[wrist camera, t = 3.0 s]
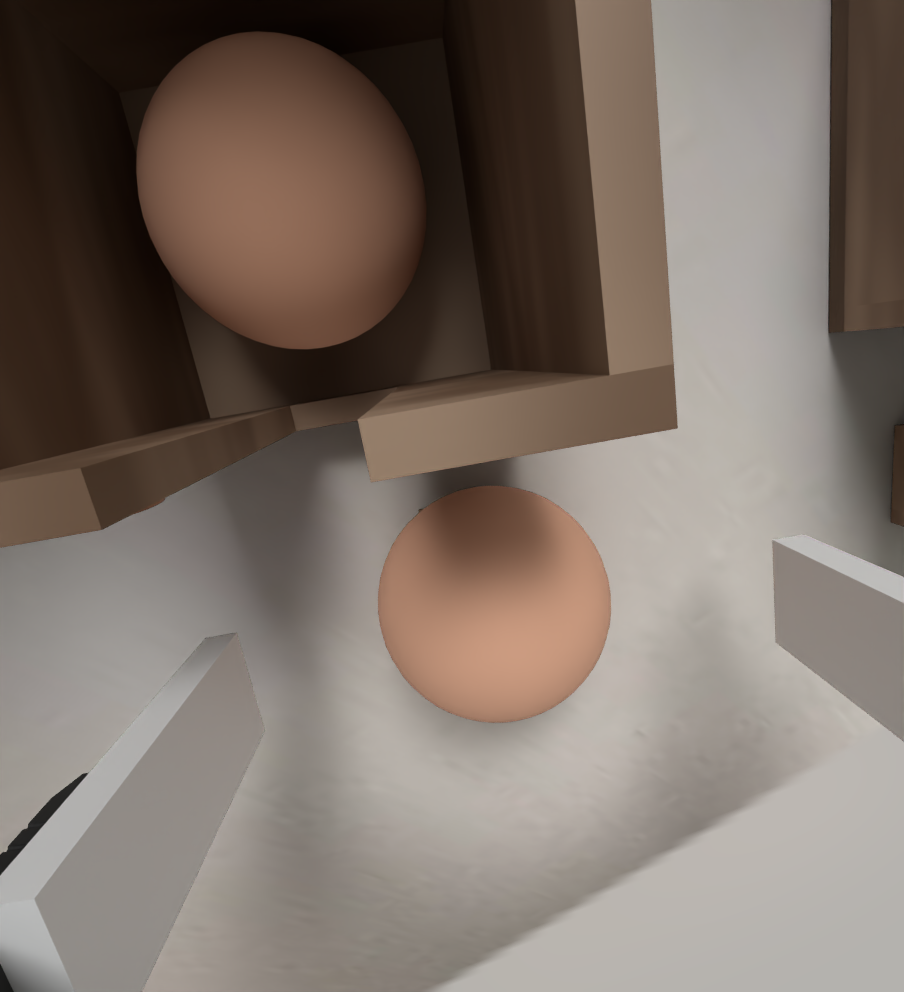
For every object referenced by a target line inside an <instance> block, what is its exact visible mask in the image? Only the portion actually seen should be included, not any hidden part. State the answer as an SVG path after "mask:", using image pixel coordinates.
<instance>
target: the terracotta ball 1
mask: <svg viewBox="0 0 904 992" xmlns="http://www.w3.org/2000/svg"><path fill="white" fill-rule="evenodd" d="M136 176H137V186H138V196H139V201H140V205H141V210H142V214H143V218H144V221H145V224H146V227H147V230H148V233H149V235H150V238H151V240H152V242H153V244H154V246H155V248H156V250H157V252H158V254H159V256H160V258H161V260H162V261H163V263H164V265H165V266H166V268H167V269H168V271H169V272H170V274H171V276H172V277H173V278H174V280H175V281H176V282H177V283H178V285H179V286H180V287H181V288H182V290H183V291H184V292H185V293H186V294H187V295H188V296H189V297H190V298H191V299H192V300H193V301H194V302H195V303H196V304H197V305H198V306H199V307H200V308H201V309H202V310H203V311H205V312H206V313H207V314H209V315H210V316H211V317H212V318H214V319H215V320H216V321H218V322H219V323H221V324H222V325H224V326H226V327H227V328H229V329H231V330H232V331H234V332H236V333H238V334H241V335H243V336H245V337H247V338H250V339H252V340H255V341H258V342H261V343H264V344H268V345H271V346H275V347H281V348H288V349H314V348H323V347H328V346H332V345H336V344H340V343H343V342H346V341H348V340H351V339H353V338H356V337H357V336H359V335H361V334H363V333H364V332H366V331H368V330H370V329H371V328H372V327H374V326H375V325H376V324H377V323H379V322H380V321H381V320H383V319H384V318H385V317H386V316H387V314H388V313H389V312H390V311H391V310H392V309H393V308H394V307H395V306H396V304H397V303H398V302H399V300H400V299H401V298H402V296H403V295H404V293H405V292H406V290H407V288H408V286H409V285H410V283H411V281H412V279H413V276H414V274H415V271H416V269H417V266H418V264H419V260H420V256H421V253H422V249H423V245H424V239H425V231H426V210H427V206H426V197H425V187H424V182H423V178H422V173H421V169H420V164H419V161H418V158H417V155H416V152H415V149H414V147H413V144H412V141H411V139H410V137H409V135H408V133H407V131H406V129H405V127H404V125H403V123H402V122H401V120H400V118H399V117H398V115H397V114H396V112H395V111H394V109H393V108H392V106H391V105H390V103H389V101H388V100H387V99H386V98H385V96H384V95H383V94H382V93H381V92H380V90H379V89H378V88H377V87H376V86H375V84H373V83H372V82H371V81H370V80H369V79H368V78H367V77H366V76H365V75H364V74H363V73H362V72H361V71H360V70H358V69H357V68H356V67H354V66H353V65H352V64H350V63H349V62H347V61H346V60H345V59H343V58H342V57H340V56H339V55H338V54H336V53H334V52H332V51H331V50H329V49H327V48H325V47H323V46H321V45H319V44H317V43H314V42H311V41H309V40H306V39H303V38H301V37H296V36H292V35H287V34H282V33H275V32H259V31H255V32H244V33H236V34H232V35H228V36H224V37H221V38H218V39H216V40H214V41H211V42H209V43H206V44H204V45H202V46H201V47H199V48H198V49H196V50H194V51H193V52H191V53H190V54H188V55H187V56H186V57H185V58H184V59H182V60H181V61H180V62H179V63H178V64H177V65H176V66H174V67H173V69H172V70H171V71H170V72H169V73H168V75H167V76H166V77H165V78H164V79H163V81H162V82H161V84H160V85H159V87H158V89H157V90H156V92H155V93H154V95H153V97H152V99H151V101H150V103H149V106H148V108H147V110H146V113H145V115H144V119H143V122H142V126H141V129H140V133H139V139H138V146H137V158H136Z"/></svg>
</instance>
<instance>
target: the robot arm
mask: <svg viewBox="0 0 904 992" xmlns="http://www.w3.org/2000/svg"><path fill="white" fill-rule="evenodd" d="M772 544H773V575H774V607H775V638H776V643H777V644H779V645H780V646H781V647H782V648H784V649H785V650H786V651H788V652H789V653H790V654H791V655H793V656H794V657H795V658H797V659H798V660H799V661H800V662H802V663H803V664H804V665H806V666H807V667H808V668H809V669H811V670H812V671H813V672H815V673H816V674H817V675H819V676H820V677H821V678H822V679H824V680H825V681H826V682H828V683H829V684H830V685H831V686H833V687H834V688H835V689H837V690H838V691H839V692H840V693H842V694H843V695H844V696H846V697H847V698H848V699H849V700H851V701H852V702H853V703H855V704H856V705H857V706H858V707H860V708H861V709H862V710H864V711H865V712H866V713H867V714H869V715H870V716H871V717H873V718H874V719H875V720H877V721H878V722H879V723H880V724H882V725H883V726H884V727H886V728H887V729H888V730H889V731H891V732H892V733H893V734H895V735H896V736H897V737H898V738H900V739H901V740H902V741H904V577H903V576H900V575H898V574H896V573H893V572H891V571H889V570H886V569H884V568H882V567H879V566H877V565H875V564H872V563H870V562H868V561H865V560H863V559H861V558H858V557H856V556H853V555H851V554H849V553H846V552H844V551H842V550H839V549H837V548H835V547H832V546H830V545H828V544H825V543H823V542H821V541H818V540H816V539H814V538H811V537H809V536H807V535H804V534H802V535H797V536H791V537H785V538H779V539H773V540H772ZM264 732H265V729H264V725H263V722H262V718H261V715H260V711H259V708H258V704H257V701H256V698H255V694H254V691H253V687H252V684H251V680H250V677H249V673H248V670H247V666H246V663H245V659H244V656H243V653H242V649H241V646H240V642H239V639H238V635H237V633H232V634H226V635H221V636H215V637H209V638H205V639H204V641H203V642H202V643H201V644H200V645H199V646H198V647H197V649H196V650H195V651H194V652H193V653H192V654H191V656H190V657H189V658H188V659H187V660H186V661H185V663H184V664H183V665H182V666H181V667H180V668H179V669H178V671H177V672H176V673H175V674H174V675H173V676H172V678H171V679H170V680H169V681H168V682H167V683H166V684H165V686H164V687H163V688H162V689H161V690H160V691H159V693H158V694H157V695H156V696H155V697H154V698H153V700H152V701H151V702H150V703H149V704H148V705H147V706H146V708H145V709H144V710H143V711H142V712H141V713H140V715H139V716H138V717H137V718H136V719H135V720H134V721H133V723H132V724H131V725H130V726H129V727H128V728H127V730H126V731H125V732H124V733H123V734H122V735H121V737H120V738H119V739H118V740H117V741H116V742H115V743H114V745H113V746H112V747H111V748H110V749H109V750H108V752H107V753H106V754H105V755H104V756H103V757H102V759H101V760H100V761H99V762H98V763H97V764H96V765H95V767H94V768H93V769H92V770H91V771H90V772H89V773H85V774H82V775H81V776H79V777H78V778H77V779H76V780H74V781H73V782H72V783H70V784H69V785H68V786H66V787H65V788H64V789H63V790H61V791H60V792H59V793H57V794H56V795H55V796H54V797H52V798H51V799H50V800H49V801H48V803H47V804H46V805H45V806H44V807H43V808H42V809H41V810H40V811H39V813H38V814H37V815H36V816H35V817H34V818H33V819H32V820H31V821H30V823H29V824H28V828H27V829H23V830H22V831H21V833H20V834H19V835H18V836H17V837H16V838H15V839H14V840H13V841H12V843H11V844H10V845H9V846H8V850H7V852H3V853H2V854H1V855H0V992H142V990H143V988H144V986H145V984H146V982H147V980H148V978H149V976H150V973H151V971H152V969H153V967H154V965H155V963H156V961H157V959H158V957H159V954H160V952H161V950H162V948H163V946H164V944H165V942H166V940H167V937H168V935H169V933H170V931H171V929H172V927H173V925H174V923H175V920H176V918H177V916H178V914H179V912H180V910H181V908H182V906H183V904H184V901H185V899H186V897H187V895H188V893H189V891H190V889H191V887H192V884H193V882H194V880H195V878H196V876H197V874H198V872H199V870H200V867H201V865H202V863H203V861H204V859H205V857H206V855H207V853H208V851H209V848H210V846H211V844H212V842H213V840H214V838H215V836H216V834H217V831H218V829H219V827H220V825H221V823H222V821H223V819H224V817H225V814H226V812H227V810H228V808H229V806H230V804H231V802H232V800H233V798H234V795H235V793H236V791H237V789H238V787H239V785H240V783H241V781H242V778H243V776H244V774H245V772H246V770H247V768H248V766H249V764H250V761H251V759H252V757H253V755H254V753H255V751H256V749H257V747H258V745H259V742H260V740H261V738H262V736H263V734H264Z"/></svg>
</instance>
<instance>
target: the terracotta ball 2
mask: <svg viewBox="0 0 904 992" xmlns="http://www.w3.org/2000/svg"><path fill="white" fill-rule="evenodd" d="M378 614H379V620H380V627H381V631H382V634H383V638H384V641H385V644H386V647H387V649H388V651H389V653H390V656H391V658H392V660H393V661H394V663H395V665H396V666H397V668H398V669H399V671H400V672H401V674H402V675H403V677H404V678H405V679H406V680H407V681H408V683H409V684H410V685H411V686H412V687H413V688H414V689H415V690H417V691H418V692H419V693H420V694H421V695H422V696H423V697H425V698H426V699H427V700H428V701H430V702H431V703H433V704H434V705H436V706H437V707H439V708H441V709H443V710H445V711H447V712H449V713H452V714H455V715H457V716H460V717H463V718H467V719H471V720H475V721H481V722H491V723H495V722H511V721H518V720H522V719H526V718H530V717H533V716H536V715H538V714H541V713H543V712H545V711H547V710H549V709H551V708H553V707H555V706H556V705H558V704H559V703H561V702H562V701H564V700H565V699H566V698H567V697H569V696H570V695H571V694H572V693H573V692H574V691H575V690H576V689H577V688H578V687H579V686H580V685H581V684H582V683H583V682H584V681H585V679H586V678H587V677H588V675H589V674H590V672H591V671H592V670H593V668H594V666H595V665H596V663H597V661H598V659H599V657H600V655H601V652H602V650H603V647H604V644H605V641H606V638H607V634H608V630H609V625H610V616H611V598H610V587H609V582H608V577H607V574H606V571H605V568H604V565H603V562H602V559H601V557H600V555H599V553H598V551H597V549H596V547H595V545H594V543H593V542H592V540H591V539H590V538H589V536H588V535H587V533H586V532H585V530H584V529H583V528H582V527H581V526H580V525H579V523H578V522H577V521H576V520H575V519H574V518H573V517H572V516H570V515H569V514H568V513H567V512H565V511H564V510H563V509H562V508H560V507H559V506H557V505H556V504H554V503H553V502H551V501H549V500H548V499H546V498H544V497H542V496H539V495H537V494H535V493H532V492H529V491H525V490H522V489H518V488H512V487H505V486H479V487H472V488H468V489H463V490H459V491H456V492H454V493H451V494H449V495H446V496H444V497H442V498H440V499H438V500H437V501H435V502H433V503H431V504H430V505H429V506H427V507H426V508H424V509H423V510H422V511H421V512H419V513H418V514H417V515H416V516H415V517H414V518H413V519H412V520H411V521H410V522H409V523H408V524H407V525H406V526H405V528H404V529H403V530H402V531H401V533H400V534H399V535H398V537H397V539H396V540H395V542H394V543H393V545H392V547H391V549H390V552H389V554H388V556H387V558H386V561H385V563H384V567H383V570H382V574H381V577H380V584H379V591H378Z"/></svg>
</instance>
